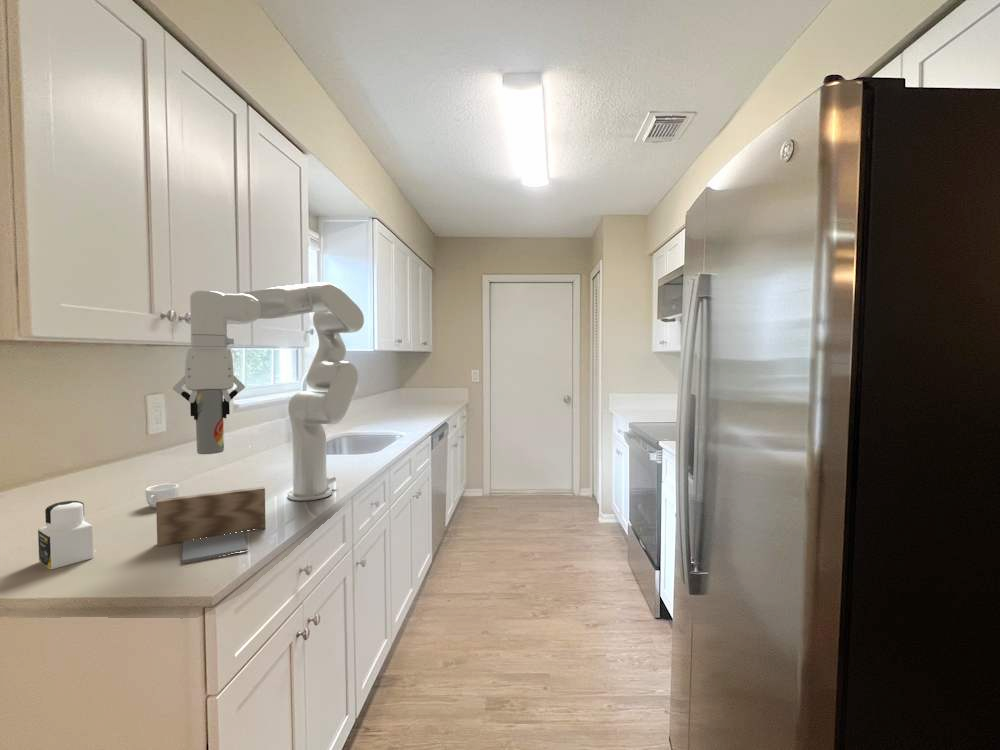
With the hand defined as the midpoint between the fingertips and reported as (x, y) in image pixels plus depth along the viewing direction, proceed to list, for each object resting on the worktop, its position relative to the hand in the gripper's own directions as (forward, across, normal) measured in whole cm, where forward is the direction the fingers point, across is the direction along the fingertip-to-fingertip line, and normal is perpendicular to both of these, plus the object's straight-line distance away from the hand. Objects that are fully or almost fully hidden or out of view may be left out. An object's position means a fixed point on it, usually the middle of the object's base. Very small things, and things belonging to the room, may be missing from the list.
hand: (210, 417), depth 120 cm
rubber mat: (+28, -1, +13) cm, 31 cm away
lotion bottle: (+9, 0, 0) cm, 9 cm away
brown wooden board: (+28, 0, +4) cm, 28 cm away
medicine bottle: (+28, +26, +5) cm, 39 cm away
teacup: (+28, +13, -28) cm, 42 cm away
